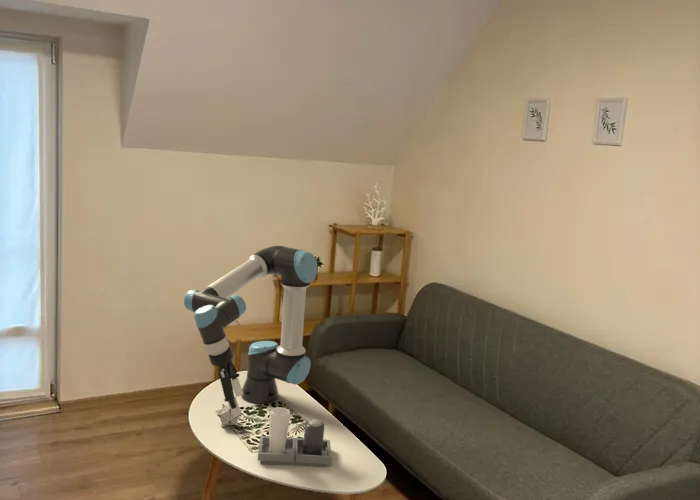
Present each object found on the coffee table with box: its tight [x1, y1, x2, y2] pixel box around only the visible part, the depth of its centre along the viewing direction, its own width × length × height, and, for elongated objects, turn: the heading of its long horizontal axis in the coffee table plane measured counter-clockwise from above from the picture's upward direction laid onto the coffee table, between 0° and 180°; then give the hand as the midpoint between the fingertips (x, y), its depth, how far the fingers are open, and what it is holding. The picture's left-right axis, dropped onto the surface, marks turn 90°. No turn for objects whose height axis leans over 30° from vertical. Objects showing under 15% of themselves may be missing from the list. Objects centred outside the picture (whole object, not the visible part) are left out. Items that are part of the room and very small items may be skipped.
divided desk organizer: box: [257, 418, 333, 468], centre depth 222 cm, size 13×24×13 cm, turn 95°
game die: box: [216, 403, 242, 428], centre depth 240 cm, size 9×8×10 cm
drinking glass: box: [268, 406, 291, 453], centre depth 221 cm, size 7×7×15 cm
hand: (238, 405), depth 222 cm, fingers open, 13 cm apart
